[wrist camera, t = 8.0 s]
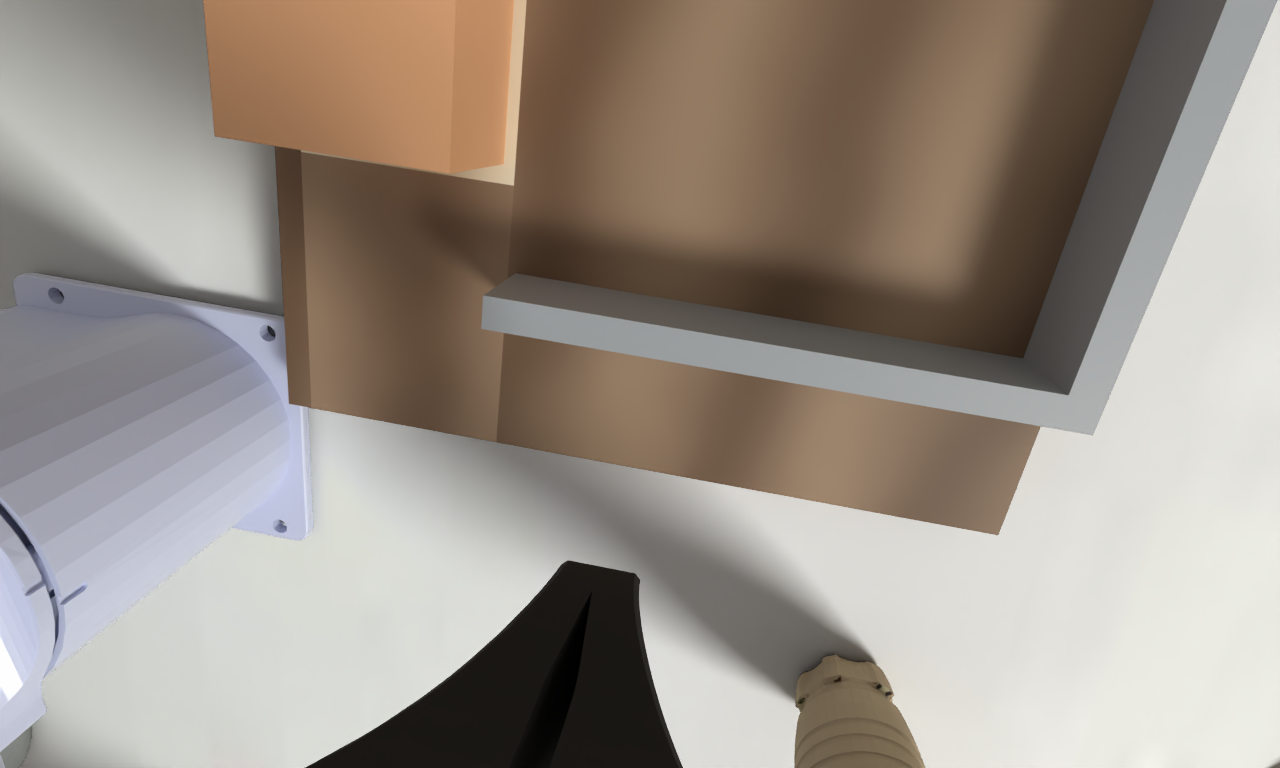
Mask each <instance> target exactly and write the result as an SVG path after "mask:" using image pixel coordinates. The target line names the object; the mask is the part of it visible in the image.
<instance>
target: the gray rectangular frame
mask: <svg viewBox="0 0 1280 768" xmlns="http://www.w3.org/2000/svg"><path fill="white" fill-rule="evenodd" d="M1276 2H1277V0H1154V2H1153V5H1152V8H1151V11H1150V13H1149V16H1148V19H1147V22H1146V24H1145V27H1144V30H1143V32H1142V35H1141V38H1140V41H1139V43H1138V46H1137V49H1136V52H1135V54H1134V57H1133V60H1132V63H1131V65H1130V68H1129V71H1128V73H1127V76H1126V79H1125V82H1124V84H1123V87H1122V90H1121V93H1120V95H1119V98H1118V101H1117V104H1116V106H1115V109H1114V112H1113V114H1112V117H1111V120H1110V123H1109V125H1108V128H1107V131H1106V134H1105V136H1104V139H1103V142H1102V145H1101V147H1100V150H1099V153H1098V155H1097V158H1096V161H1095V164H1094V166H1093V169H1092V172H1091V175H1090V177H1089V180H1088V183H1087V186H1086V188H1085V191H1084V194H1083V196H1082V199H1081V202H1080V205H1079V207H1078V210H1077V213H1076V216H1075V218H1074V221H1073V224H1072V227H1071V229H1070V232H1069V235H1068V237H1067V240H1066V243H1065V246H1064V248H1063V251H1062V254H1061V257H1060V259H1059V262H1058V265H1057V268H1056V270H1055V273H1054V276H1053V278H1052V281H1051V284H1050V287H1049V289H1048V292H1047V295H1046V298H1045V300H1044V303H1043V306H1042V309H1041V311H1040V314H1039V317H1038V319H1037V322H1036V325H1035V328H1034V330H1033V333H1032V336H1031V339H1030V341H1029V344H1028V347H1027V350H1026V352H1025V355H1024V358H1017V357H1011V356H1005V355H999V354H993V353H987V352H981V351H975V350H969V349H963V348H957V347H951V346H946V345H940V344H934V343H928V342H922V341H916V340H910V339H904V338H898V337H892V336H886V335H880V334H874V333H868V332H862V331H856V330H850V329H844V328H838V327H832V326H826V325H820V324H814V323H808V322H803V321H797V320H791V319H785V318H779V317H773V316H767V315H761V314H755V313H749V312H743V311H737V310H731V309H725V308H719V307H713V306H707V305H701V304H695V303H689V302H683V301H677V300H671V299H665V298H660V297H654V296H648V295H642V294H636V293H630V292H624V291H618V290H612V289H606V288H600V287H594V286H588V285H582V284H576V283H570V282H564V281H558V280H552V279H546V278H540V277H534V276H528V275H522V274H517V273H515V274H514V275H512V276H511V277H509V278H508V279H506V280H505V281H503V282H502V283H501V284H499V285H498V286H496V287H495V288H493V289H492V290H490V291H489V292H487V293H486V294H485V295H483V307H482V325H481V329H485V330H490V331H496V332H502V333H508V334H513V335H519V336H525V337H531V338H536V339H542V340H548V341H554V342H559V343H565V344H571V345H577V346H582V347H588V348H594V349H600V350H605V351H611V352H617V353H623V354H628V355H634V356H640V357H646V358H651V359H657V360H663V361H669V362H674V363H680V364H686V365H692V366H697V367H703V368H709V369H715V370H720V371H726V372H732V373H738V374H743V375H749V376H755V377H761V378H766V379H772V380H778V381H784V382H789V383H795V384H801V385H807V386H812V387H818V388H824V389H830V390H835V391H841V392H847V393H852V394H858V395H864V396H870V397H875V398H881V399H887V400H893V401H898V402H904V403H910V404H916V405H921V406H927V407H933V408H939V409H944V410H950V411H956V412H962V413H967V414H973V415H979V416H985V417H990V418H996V419H1002V420H1008V421H1013V422H1019V423H1025V424H1031V425H1036V426H1042V427H1048V428H1054V429H1059V430H1065V431H1071V432H1077V433H1082V434H1088V435H1093V434H1094V431H1095V429H1096V427H1097V424H1098V422H1099V420H1100V417H1101V415H1102V413H1103V410H1104V408H1105V406H1106V403H1107V401H1108V398H1109V396H1110V394H1111V391H1112V389H1113V387H1114V384H1115V382H1116V380H1117V377H1118V375H1119V373H1120V370H1121V368H1122V365H1123V363H1124V361H1125V358H1126V356H1127V354H1128V351H1129V349H1130V347H1131V344H1132V342H1133V340H1134V337H1135V335H1136V332H1137V330H1138V328H1139V325H1140V323H1141V321H1142V318H1143V316H1144V314H1145V311H1146V309H1147V306H1148V304H1149V302H1150V299H1151V297H1152V295H1153V292H1154V290H1155V288H1156V285H1157V283H1158V281H1159V278H1160V276H1161V273H1162V271H1163V269H1164V266H1165V264H1166V262H1167V259H1168V257H1169V255H1170V252H1171V250H1172V248H1173V245H1174V243H1175V240H1176V238H1177V236H1178V233H1179V231H1180V229H1181V226H1182V224H1183V222H1184V219H1185V217H1186V215H1187V212H1188V210H1189V207H1190V205H1191V203H1192V200H1193V198H1194V196H1195V193H1196V191H1197V189H1198V186H1199V184H1200V182H1201V179H1202V177H1203V174H1204V172H1205V170H1206V167H1207V165H1208V163H1209V160H1210V158H1211V156H1212V153H1213V151H1214V148H1215V146H1216V144H1217V141H1218V139H1219V137H1220V134H1221V132H1222V130H1223V127H1224V125H1225V123H1226V120H1227V118H1228V115H1229V113H1230V111H1231V108H1232V106H1233V104H1234V101H1235V99H1236V97H1237V94H1238V92H1239V90H1240V87H1241V85H1242V82H1243V80H1244V78H1245V75H1246V73H1247V71H1248V68H1249V66H1250V64H1251V61H1252V59H1253V57H1254V54H1255V52H1256V49H1257V47H1258V45H1259V42H1260V40H1261V38H1262V35H1263V33H1264V31H1265V28H1266V26H1267V24H1268V21H1269V19H1270V16H1271V14H1272V12H1273V9H1274V7H1275V5H1276Z"/></svg>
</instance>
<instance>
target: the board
mask: <svg viewBox="0 0 1280 768" xmlns="http://www.w3.org/2000/svg"><path fill="white" fill-rule="evenodd" d="M1153 2H1154V0H514V10H513V26H512V42H511V58H510V74H509V90H508V106H507V122H506V137H505V153H504V164H502V165H496V166H491V167H485V168H479V169H474V170H468V171H462V172H457V173H451V174H448V173H442V172H436V171H429V170H423V169H417V168H411V167H404V166H398V165H392V164H385V163H379V162H373V161H367V160H360V159H354V158H348V157H342V156H335V155H329V154H323V153H316V152H310V151H304V150H298V149H291V148H285V147H279V146H275V158H276V177H277V195H278V213H279V232H280V250H281V269H282V287H283V305H284V324H285V342H286V361H287V379H288V397H289V404H293V405H298V406H304V407H309V408H314V409H320V410H325V411H331V412H336V413H341V414H347V415H352V416H358V417H363V418H368V419H374V420H379V421H385V422H390V423H395V424H401V425H406V426H412V427H417V428H422V429H428V430H433V431H439V432H444V433H449V434H455V435H460V436H466V437H471V438H476V439H482V440H487V441H493V442H498V443H503V444H509V445H514V446H520V447H525V448H530V449H536V450H541V451H546V452H552V453H557V454H563V455H568V456H573V457H579V458H584V459H590V460H595V461H600V462H606V463H611V464H617V465H622V466H627V467H633V468H638V469H644V470H649V471H654V472H660V473H665V474H671V475H676V476H681V477H687V478H692V479H698V480H703V481H708V482H714V483H719V484H725V485H730V486H735V487H741V488H746V489H752V490H757V491H762V492H768V493H773V494H779V495H784V496H789V497H795V498H800V499H806V500H811V501H816V502H822V503H827V504H833V505H838V506H843V507H849V508H854V509H860V510H865V511H870V512H876V513H881V514H887V515H892V516H897V517H903V518H908V519H914V520H919V521H924V522H930V523H935V524H941V525H946V526H951V527H957V528H962V529H968V530H973V531H978V532H984V533H989V534H995V535H998V534H999V532H1000V529H1001V526H1002V524H1003V521H1004V519H1005V516H1006V514H1007V511H1008V509H1009V506H1010V503H1011V501H1012V498H1013V496H1014V493H1015V491H1016V488H1017V486H1018V483H1019V480H1020V478H1021V475H1022V473H1023V470H1024V468H1025V465H1026V463H1027V460H1028V457H1029V455H1030V452H1031V450H1032V447H1033V445H1034V442H1035V440H1036V437H1037V434H1038V432H1039V429H1040V427H1041V426H1036V425H1031V424H1025V423H1019V422H1013V421H1008V420H1002V419H996V418H990V417H985V416H979V415H973V414H967V413H962V412H956V411H950V410H944V409H939V408H933V407H927V406H921V405H916V404H910V403H904V402H898V401H893V400H887V399H881V398H875V397H870V396H864V395H858V394H852V393H847V392H841V391H835V390H830V389H824V388H818V387H812V386H807V385H801V384H795V383H789V382H784V381H778V380H772V379H766V378H761V377H755V376H749V375H743V374H738V373H732V372H726V371H720V370H715V369H709V368H703V367H697V366H692V365H686V364H680V363H674V362H669V361H663V360H657V359H651V358H646V357H640V356H634V355H628V354H623V353H617V352H611V351H605V350H600V349H594V348H588V347H582V346H577V345H571V344H565V343H559V342H554V341H548V340H542V339H536V338H531V337H525V336H519V335H513V334H508V333H502V332H496V331H490V330H485V329H481V325H482V307H483V295H485V294H486V293H487V292H489V291H490V290H492V289H493V288H495V287H496V286H498V285H499V284H501V283H502V282H503V281H505V280H506V279H508V278H509V277H511V276H512V275H514V274H515V273H517V274H522V275H528V276H534V277H540V278H546V279H552V280H558V281H564V282H570V283H576V284H582V285H588V286H594V287H600V288H606V289H612V290H618V291H624V292H630V293H636V294H642V295H648V296H654V297H660V298H665V299H671V300H677V301H683V302H689V303H695V304H701V305H707V306H713V307H719V308H725V309H731V310H737V311H743V312H749V313H755V314H761V315H767V316H773V317H779V318H785V319H791V320H797V321H803V322H808V323H814V324H820V325H826V326H832V327H838V328H844V329H850V330H856V331H862V332H868V333H874V334H880V335H886V336H892V337H898V338H904V339H910V340H916V341H922V342H928V343H934V344H940V345H946V346H951V347H957V348H963V349H969V350H975V351H981V352H987V353H993V354H999V355H1005V356H1011V357H1017V358H1024V355H1025V352H1026V350H1027V347H1028V344H1029V341H1030V339H1031V336H1032V333H1033V330H1034V328H1035V325H1036V322H1037V319H1038V317H1039V314H1040V311H1041V309H1042V306H1043V303H1044V300H1045V298H1046V295H1047V292H1048V289H1049V287H1050V284H1051V281H1052V278H1053V276H1054V273H1055V270H1056V268H1057V265H1058V262H1059V259H1060V257H1061V254H1062V251H1063V248H1064V246H1065V243H1066V240H1067V237H1068V235H1069V232H1070V229H1071V227H1072V224H1073V221H1074V218H1075V216H1076V213H1077V210H1078V207H1079V205H1080V202H1081V199H1082V196H1083V194H1084V191H1085V188H1086V186H1087V183H1088V180H1089V177H1090V175H1091V172H1092V169H1093V166H1094V164H1095V161H1096V158H1097V155H1098V153H1099V150H1100V147H1101V145H1102V142H1103V139H1104V136H1105V134H1106V131H1107V128H1108V125H1109V123H1110V120H1111V117H1112V114H1113V112H1114V109H1115V106H1116V104H1117V101H1118V98H1119V95H1120V93H1121V90H1122V87H1123V84H1124V82H1125V79H1126V76H1127V73H1128V71H1129V68H1130V65H1131V63H1132V60H1133V57H1134V54H1135V52H1136V49H1137V46H1138V43H1139V41H1140V38H1141V35H1142V32H1143V30H1144V27H1145V24H1146V22H1147V19H1148V16H1149V13H1150V11H1151V8H1152V5H1153Z"/></svg>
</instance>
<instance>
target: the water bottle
mask: <svg viewBox="0 0 1280 768" xmlns="http://www.w3.org/2000/svg"><path fill="white" fill-rule="evenodd" d="M31 739H32V725H31V726H30V727H29V728H28V729H27V730H25V731H24V732H23V733H22V734H21V735H20V736H18V737H17V738H16V739H15V740H14V741H13V742H11V743H10V744H9V745H8V746H7V747H6V748H4V749H3V750H2V751H1V752H0V755H1V757H2V759H3V762H4V765H5V768H19V767H20V765H21V764H22V762H23V761H24V759H25V758H26V755H27V753H28V750H29V746H30V742H31Z"/></svg>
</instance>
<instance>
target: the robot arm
mask: <svg viewBox="0 0 1280 768" xmlns="http://www.w3.org/2000/svg"><path fill="white" fill-rule="evenodd" d="M13 289H14V294H15V299H16V304H17V306H15V307H11V308H7V309H3V310H0V752H1V751H2V750H3V749H4V748H6V747H7V746H8V745H9V744H10V743H11V742H13V741H14V740H15V739H16V738H17V737H18V736H20V735H21V734H22V733H23V732H24V731H25V730H27V729H28V728H29V727H30V726H31V725H32V724H34V723H35V722H36V721H37V720H38V719H39V718H41V717H42V716H43V715H44V714H45V713H46V712H47V708H46V705H45V702H44V699H43V696H42V688H41V685H42V680H43V679H44V678H45V677H46V676H48V675H49V674H50V673H51V672H53V671H54V670H55V669H56V668H57V667H59V666H60V665H61V664H62V663H64V662H65V661H66V660H67V659H69V658H70V657H71V656H72V655H74V654H75V653H76V652H77V651H79V650H80V649H81V648H82V647H84V646H85V645H86V644H87V643H89V642H90V641H91V640H92V639H94V638H95V637H96V636H97V635H98V634H100V633H101V632H102V631H103V630H105V629H106V628H107V627H108V626H110V625H111V624H112V623H113V622H115V621H116V620H117V619H118V618H120V617H121V616H122V615H123V614H125V613H126V612H127V611H128V610H130V609H131V608H132V607H133V606H135V605H136V604H137V603H138V602H139V601H141V600H142V599H143V598H144V597H146V596H147V595H148V594H149V593H151V592H152V591H153V590H154V589H156V588H157V587H158V586H159V585H161V584H162V583H163V582H164V581H166V580H167V579H168V578H169V577H171V576H172V575H173V574H174V573H176V572H177V571H178V570H179V569H180V568H182V567H183V566H184V565H185V564H187V563H188V562H189V561H190V560H192V559H193V558H194V557H195V556H197V555H198V554H199V553H200V552H202V551H203V550H204V549H205V548H207V547H208V546H209V545H210V544H212V543H213V542H214V541H215V540H217V539H218V538H219V537H220V536H221V535H223V534H224V533H225V532H226V531H228V530H229V529H230V528H235V529H240V530H245V531H250V532H255V533H260V534H266V535H271V536H276V537H281V538H286V539H291V540H299V541H300V540H303V539H305V538H306V537H307V536H308V535H309V534H310V533H311V532H312V530H313V510H312V487H311V464H310V441H309V418H308V407H304V406H298V405H293V404H289V397H288V379H287V361H286V342H285V324H284V317H283V316H277V315H272V314H266V313H260V312H255V311H249V310H243V309H238V308H232V307H226V306H220V305H215V304H209V303H203V302H198V301H192V300H186V299H181V298H175V297H169V296H164V295H158V294H152V293H147V292H141V291H135V290H130V289H124V288H118V287H113V286H107V285H101V284H96V283H90V282H84V281H79V280H73V279H67V278H62V277H56V276H50V275H45V274H39V273H26V274H21V275H18V276H17V277H15V279H14V281H13ZM60 291H61V292H62V294H63V296H64V298H63V297H62V296H61V294H60ZM268 326H270V327H272V328H273V330H274V331H275V334H276V336H275V337H273V336H271V335H270V334H269V332H268V329H267V327H268ZM280 520H281V521H283V522H284V523H285V524H286V526H285V525H283V524H282V523H281V522H280ZM639 584H640V579H639V578H638V577H637V575H636V574H635V573H630V572H624V571H619V570H614V569H609V568H604V567H599V566H594V565H589V564H584V563H579V562H573V561H567V562H565V563H563V564H562V565H561V566H560V567H559V569H558V570H557V571H556V573H555V574H554V575H553V576H552V578H551V579H550V580H549V581H548V582H547V584H546V585H545V586H544V587H543V588H542V590H541V591H540V592H539V593H538V594H537V595H536V596H535V597H534V598H533V600H532V601H531V602H530V603H529V604H528V605H527V606H526V607H525V608H524V609H523V610H522V611H521V612H520V613H519V614H518V615H517V616H516V617H515V618H514V619H513V620H512V621H511V622H510V623H509V624H508V625H507V626H506V627H505V628H504V629H503V630H502V631H501V632H500V633H499V634H498V635H497V636H496V637H495V638H494V639H493V640H492V641H490V642H489V643H488V644H487V645H486V646H485V647H484V648H483V649H481V650H480V651H479V652H478V653H477V654H476V655H475V656H474V657H473V658H471V659H470V660H469V661H468V662H467V663H466V664H464V665H463V666H462V667H461V668H460V669H458V670H457V671H456V672H455V673H453V674H452V675H451V676H450V677H448V678H447V679H446V680H445V681H443V682H442V683H441V684H439V685H438V686H437V687H435V688H434V689H433V690H431V691H430V692H429V693H427V694H426V695H424V696H423V697H422V698H420V699H419V700H417V701H416V702H414V703H413V704H411V705H410V706H409V707H407V708H406V709H404V710H403V711H401V712H400V713H398V714H397V715H395V716H394V717H392V718H391V719H389V720H388V721H386V722H385V723H383V724H381V725H380V726H378V727H377V728H375V729H373V730H372V731H370V732H369V733H367V734H365V735H364V736H362V737H360V738H358V739H356V740H355V741H353V742H351V743H349V744H347V745H346V746H344V747H342V748H340V749H338V750H337V751H335V752H333V753H331V754H329V755H328V756H326V757H324V758H322V759H320V760H319V761H317V762H315V763H313V764H311V765H309V766H307V767H306V768H683V767H682V764H681V762H680V760H679V757H678V755H677V752H676V750H675V747H674V744H673V742H672V739H671V736H670V734H669V731H668V728H667V725H666V722H665V720H664V716H663V713H662V710H661V707H660V704H659V700H658V697H657V694H656V690H655V687H654V683H653V679H652V675H651V671H650V667H649V663H648V658H647V653H646V649H645V644H644V639H643V633H642V627H641V618H640V609H639ZM0 768H5V765H4V762H3V759H2V757H1V755H0Z"/></svg>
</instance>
